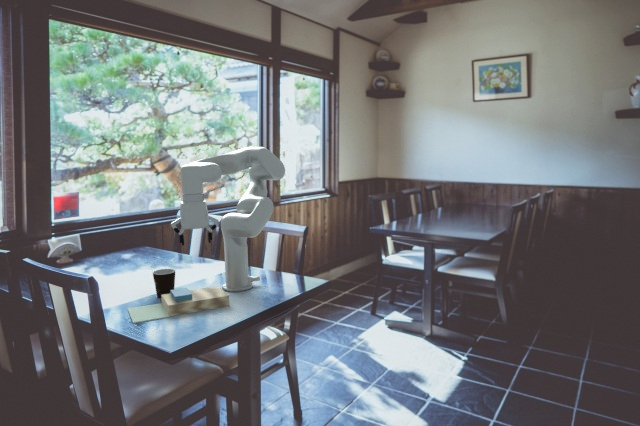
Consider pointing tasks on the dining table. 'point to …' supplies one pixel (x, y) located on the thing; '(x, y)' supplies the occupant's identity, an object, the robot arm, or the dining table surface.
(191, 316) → the dining table surface
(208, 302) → the beige wood-grain panel
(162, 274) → the coffee mug
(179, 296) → the blue rectangular block
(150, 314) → the mat
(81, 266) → the dining table surface
